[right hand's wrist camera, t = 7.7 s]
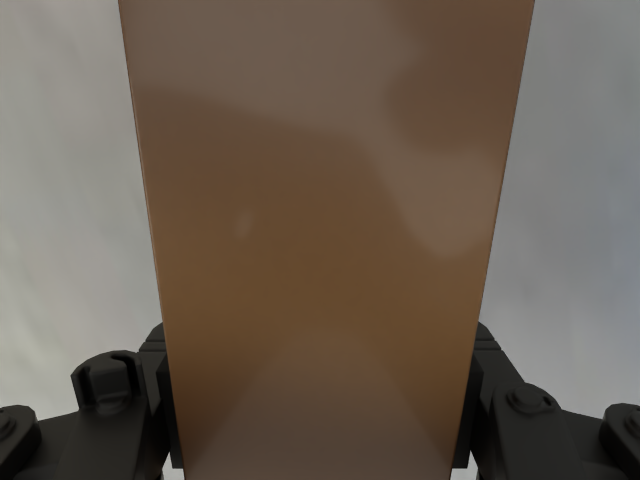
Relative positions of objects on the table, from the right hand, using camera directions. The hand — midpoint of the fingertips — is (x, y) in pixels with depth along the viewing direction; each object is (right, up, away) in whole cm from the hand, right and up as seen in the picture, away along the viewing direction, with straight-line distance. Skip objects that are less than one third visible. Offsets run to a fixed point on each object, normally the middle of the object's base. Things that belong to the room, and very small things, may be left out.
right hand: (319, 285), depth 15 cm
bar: (0, +18, -6) cm, 20 cm away
